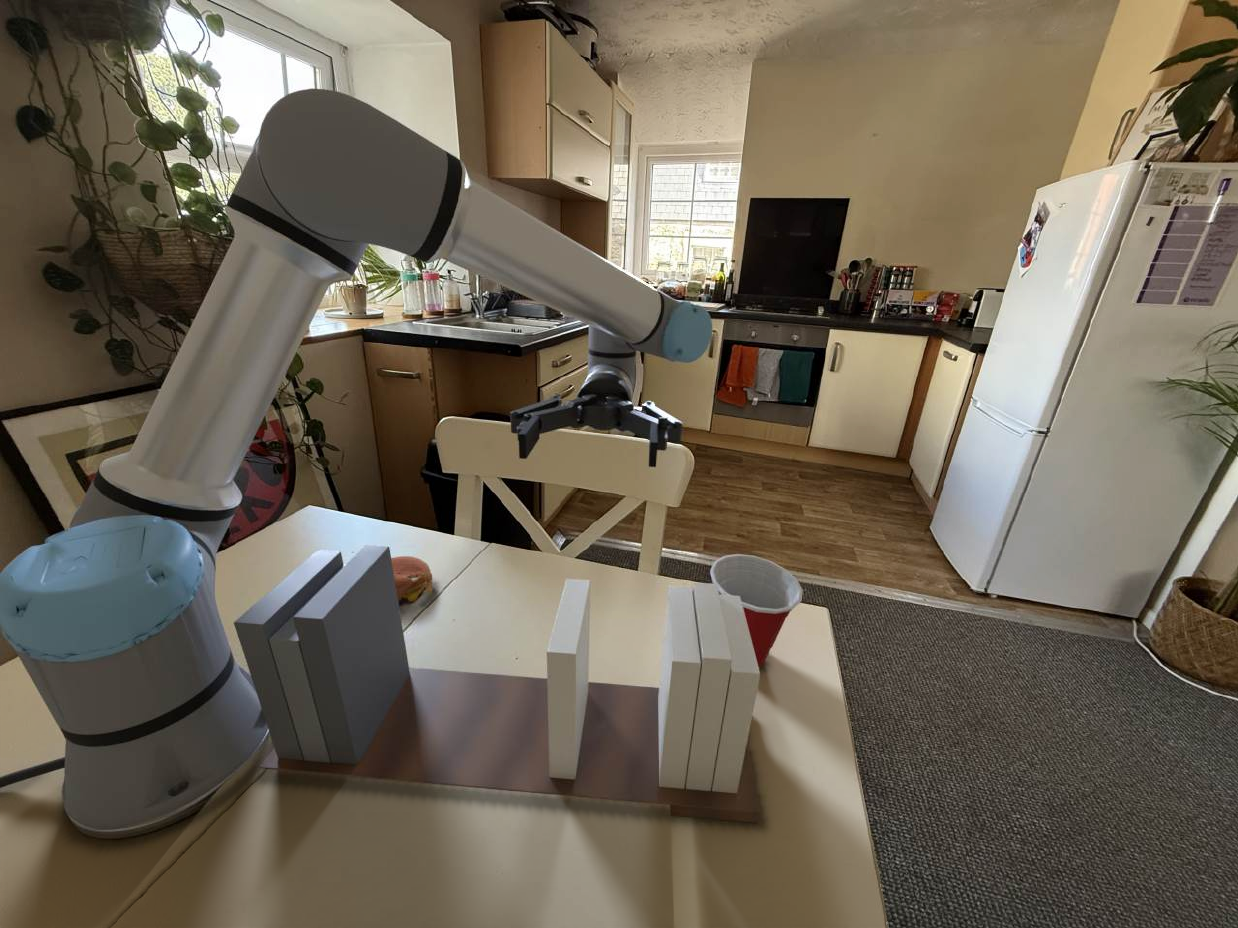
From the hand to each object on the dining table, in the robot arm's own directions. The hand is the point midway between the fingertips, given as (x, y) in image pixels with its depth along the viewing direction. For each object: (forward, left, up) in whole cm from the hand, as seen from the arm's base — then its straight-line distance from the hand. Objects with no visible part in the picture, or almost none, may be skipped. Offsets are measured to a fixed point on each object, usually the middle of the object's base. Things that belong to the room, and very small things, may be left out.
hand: (587, 450), depth 51 cm
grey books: (-23, -12, -26) cm, 37 cm away
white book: (0, -12, -26) cm, 29 cm away
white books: (+13, -12, -26) cm, 31 cm away
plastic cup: (+20, +2, -28) cm, 34 cm away
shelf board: (-5, -12, -28) cm, 30 cm away
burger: (-28, +9, -28) cm, 41 cm away
